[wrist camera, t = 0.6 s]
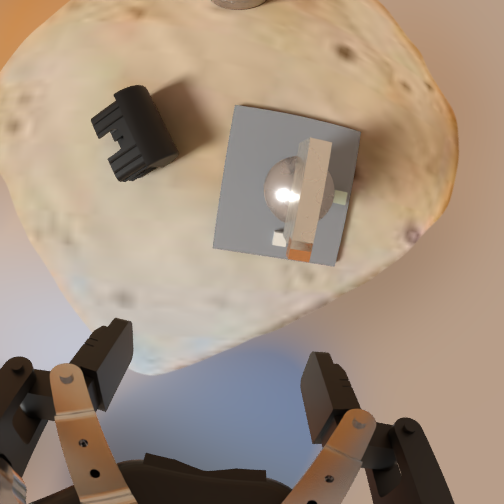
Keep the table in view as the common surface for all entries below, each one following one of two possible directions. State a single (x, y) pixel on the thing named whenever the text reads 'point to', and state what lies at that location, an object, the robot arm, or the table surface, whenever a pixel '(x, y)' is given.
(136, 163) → the end cap
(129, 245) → the table surface
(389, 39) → the table surface
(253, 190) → the base
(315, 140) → the lock knob
